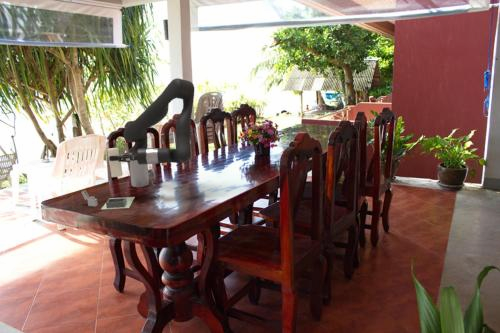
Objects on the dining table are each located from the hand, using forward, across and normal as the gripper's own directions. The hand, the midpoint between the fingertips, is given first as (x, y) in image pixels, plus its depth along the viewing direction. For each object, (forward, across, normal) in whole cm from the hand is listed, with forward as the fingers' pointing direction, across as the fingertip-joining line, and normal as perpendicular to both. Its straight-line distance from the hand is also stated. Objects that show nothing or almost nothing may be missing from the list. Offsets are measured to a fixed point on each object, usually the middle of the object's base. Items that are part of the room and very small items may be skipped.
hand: (110, 157), depth 203 cm
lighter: (+9, +7, +22) cm, 25 cm away
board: (-3, +6, +21) cm, 22 cm away
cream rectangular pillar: (-2, 0, +9) cm, 9 cm away
